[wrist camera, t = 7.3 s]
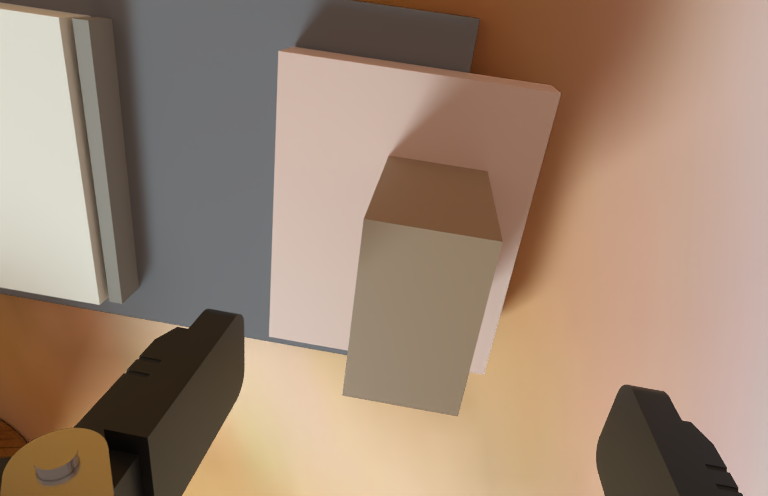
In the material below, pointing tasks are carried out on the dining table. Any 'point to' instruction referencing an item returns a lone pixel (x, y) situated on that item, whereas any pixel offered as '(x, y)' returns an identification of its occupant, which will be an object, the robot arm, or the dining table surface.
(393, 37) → the ticket base
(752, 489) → the dining table surface
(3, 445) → the disposable coffee cup
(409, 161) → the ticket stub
